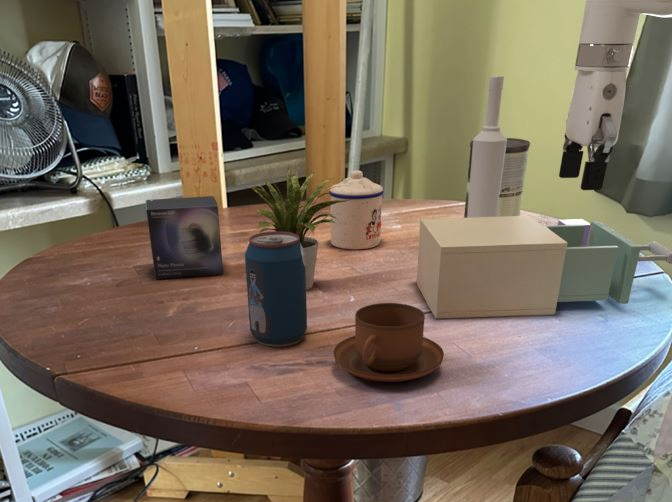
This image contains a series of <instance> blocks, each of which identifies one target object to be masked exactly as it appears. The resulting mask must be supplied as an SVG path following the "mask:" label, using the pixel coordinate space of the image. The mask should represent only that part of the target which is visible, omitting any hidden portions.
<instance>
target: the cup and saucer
mask: <svg viewBox="0 0 672 502" xmlns="http://www.w3.org/2000/svg"><path fill="white" fill-rule="evenodd" d="M425 316H426V315H425V313H424V311H423V310H422V309H420V308H418V307H416V306H413V305H410V304H405V303H399V302H398V303H397V302H379V303H372V304H369V305H365V306H363V307H360V308H359V309H358V310H356V312H355V316H354V317H355V318H354V321H355V322H354V323H355V324H354V325H355V326H354V328H355V329H354V330H355V331H354V333H355V334H354V335H353V336H349V337H347V338H345V339H343V340H341V341H340V342H339V343H337V344H336V346H335V347H334V349H333V358H334V361H335V362H336V364H337V365H338V366H339V367H340V368H342V370H344V371H345V372H347V373H349V374H350V375H352V376H354V377H358V378H360V379H364V380H369V381H373V382H374V381H375V382H382V383H383V382H384V383H385V382H387V383H392V382H393V383H395V382H397V383H398V382H405V381H411V380H415V379H419V378H422V377H425V376H427V375H428V374H430V373H432V372H434V371H435V370H436V369H437V368H438V367H440V365H441V364H442V362H443V360H444V357H445V352H444V350H443V348H442V347H441V345H439V344H438V343H437V342H435V341H433V340H432V339H429V338H428V337H424V331H425V330H424V328H425V318H426V317H425Z"/></svg>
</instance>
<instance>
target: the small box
mask: <svg viewBox="0 0 672 502" xmlns="http://www.w3.org/2000/svg"><path fill="white" fill-rule="evenodd" d="M218 207H219V206H218V202H217V200H216V198H215V196H213V195H210V196H190V197H173V198H156V199H155V198H154V199H146V200H145V212H146V218H147V226H148V234H149V241H150V249H151V257H152V263H153V272H154V278H155V280H162V279H177V278H188V277H189V278H190V277H202V276H203V277H205V276H221V275H224V267H223V253H222V243H221V228H220V217H219V208H218Z"/></svg>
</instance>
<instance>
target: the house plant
mask: <svg viewBox="0 0 672 502" xmlns="http://www.w3.org/2000/svg"><path fill="white" fill-rule="evenodd" d="M291 171H292V170H291V167H290V165H288V166H287V171H286V199H285V200H284V198H283V195H282V193H281V191H280V188H279V187H278V186H277V185H276V183H274V182H273V181H272V180H270V179H267V178H263V181H264V183H265V185H266V186H267V188H268V190H269V192H270V194H271V195H270V194H269V193H268V192H267V190H265V188H264V187H263V186H262V185H260V184H258V183H256V182H255V184H256V185H257V186H258V187H256V186H247V187H246V189H251V190H253V191H254V192H255V193H256V194H258V195H259V196H260V198H261V199H262V200H263V202H265V203H266V204H267V206H268V207H269V208H270V210H271V211H270V210H268V209H266V208H264V209H263V208H261V209H258V210H256V211H255V213H257V214H259V215H262V216H264V217H266V218H267V219H269V220H270V221H271V222H272V223H271V222H269V221H265V220H261V221H260V222H259V224H258V227H257V230H259V229H260V228H261V229H260V231H259V233H264V232H266V231H269V230H272V231H274V232H290V233H294V234H297V235H298V236H299V238H300V240H299V241H300V243H301V245H302V247H303V249H304V251H305V268H306V291H307V290H309V289H312V288H313V285H314V278H315V271H316V264H317V256H318V250H319V244H320V243H319V240H318V239H316V238H314V232H315V229H316V226H318V225H321V224H325V223H331V222H333V223H335V222H334V221H333V220H331V217H333V218H335V217H334V216H332V215H334V214H337V213H334V214H331V213H330V214H329V213H322V214H319V215H316V216H315V214H317V213H318V212H319V211H321V210H323V209H325V208H327V207H331V205H333V204H336V203H340V202H346V201H351V200H334V201H331V200H327V201H322V202H319V203H316V202H317V200H318V199H320V198H321V197H322V196H325V195H330V194H332V193H329V192H324V191H327V190H330V188H334V187H332V186H331V187H327V188H325V189H323V188H324V186H326V184H328V183H329V182H331V180H333V179H335V177H331V178H328V179H325V180H324V181H323V182H321V183H320V184H319V185H317V187H316V188H315V189H314V191H313V192H312V193H311V194H310V196H309V197H308V198H307V199H306V201H305V202H304V205H301V202H302V199H303V197H304V194H305V191H306V189H307V187H308V185H309V183H310V180H311V179H312V178H313V176H314V175H315V173H316V171H317V168H315V169H313V171H312V172H311V173H310V174H309V175H308V176H307V178H306V179H305V180H304V182H303V183H302V184H301V185H300V182H299V174H298V172H295V173H294V174H293V175H291V174H292V173H291ZM267 181H268V182H267ZM269 182H270V183H269ZM271 183H272V184H273V185H274V186H275V187H274V186H273V185H272V184H271ZM335 187H340V186H335ZM275 188H276V189H275ZM322 192H323V193H322ZM321 193H322V194H321ZM319 194H320V195H319ZM318 195H319V196H318ZM317 196H318V197H317ZM313 201H314V202H313ZM315 203H316V204H315ZM300 205H301V206H300ZM301 208H302V210H301V211H300V213H299V210H300V209H301ZM314 216H315V217H314ZM327 217H330V218H327ZM319 218H323V219H320V220H317V219H319ZM335 219H337V218H335ZM316 220H317V221H316ZM337 220H338V219H337ZM336 224H337V223H336ZM268 226H273V227H274V228H270V227H268ZM309 231H310V232H309ZM307 232H309V233H308V234H307ZM259 233H258V234H259ZM311 233H312V236H313V237H309V235H311ZM306 234H307V235H306Z"/></svg>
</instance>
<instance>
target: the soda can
mask: <svg viewBox="0 0 672 502" xmlns="http://www.w3.org/2000/svg"><path fill="white" fill-rule="evenodd" d="M299 240H300V238H299V236H298V235H297V234H294V233H290V232H276V231H263V232H260V233H255V234H253V235H251V236H250V237H249V238H248V246H247V248H246V250H245V252H244V262H245V263H244V264H245V274H246V275H245V277H246V290H247V292H246V293H247V305H248V306H247V308H248V319H249V320H248V322H249V331H250V334H252V337H253V338H254V339H255V340H256V342H257V343H258V344H260V345H262V346H266V347H271V348H283V347H289V346H293V345H296V344H297V343H299V342H300V341H301V340H303V337H304V335H305V333H306V332H307V330H308V311H307V309H308V308H307V307H308V306H307V305H308V304H307V290H306V268H305V251H304V249H303V247H302V245H301V243H300V241H299Z"/></svg>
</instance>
